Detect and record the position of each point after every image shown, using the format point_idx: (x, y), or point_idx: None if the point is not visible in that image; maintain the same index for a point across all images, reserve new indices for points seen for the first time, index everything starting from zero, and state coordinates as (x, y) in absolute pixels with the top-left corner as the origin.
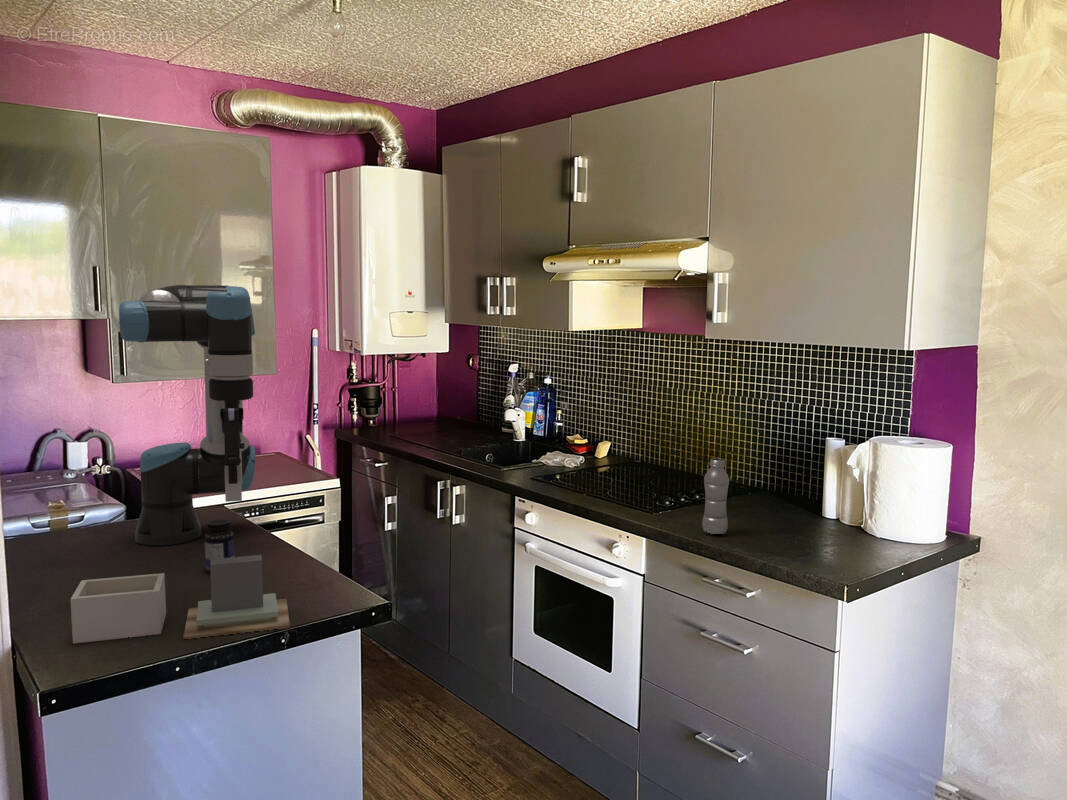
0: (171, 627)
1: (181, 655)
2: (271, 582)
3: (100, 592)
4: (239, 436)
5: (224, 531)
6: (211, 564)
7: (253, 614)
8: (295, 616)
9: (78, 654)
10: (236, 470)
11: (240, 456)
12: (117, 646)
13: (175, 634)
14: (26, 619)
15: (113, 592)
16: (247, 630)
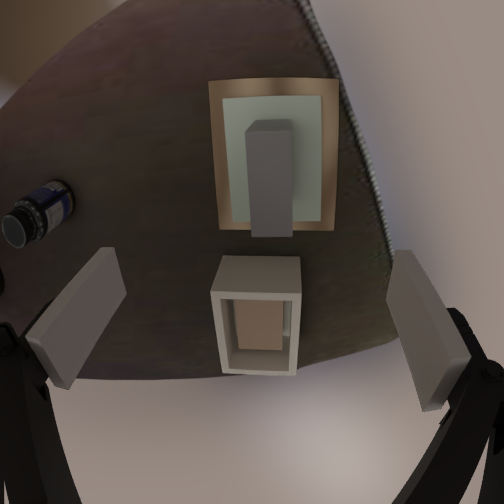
0: (278, 245)
1: (383, 228)
2: (113, 115)
3: (230, 345)
4: (30, 421)
5: (27, 216)
6: (290, 234)
7: (321, 136)
8: (286, 66)
9: (329, 327)
10: (482, 352)
11: (56, 321)
12: (322, 297)
13: (307, 239)
14: (210, 373)
15: (229, 333)
16: (337, 143)
